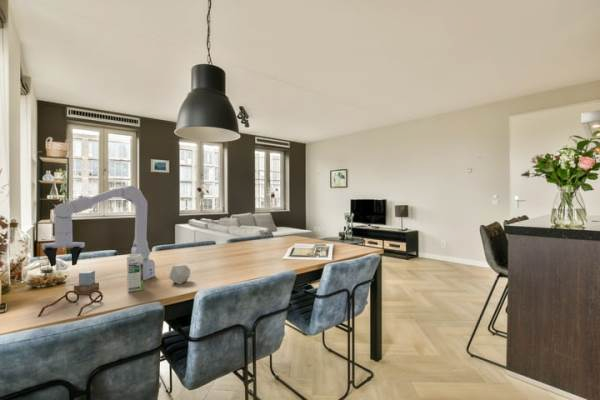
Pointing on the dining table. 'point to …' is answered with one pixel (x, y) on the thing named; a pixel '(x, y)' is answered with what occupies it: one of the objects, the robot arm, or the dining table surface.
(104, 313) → the dining table surface
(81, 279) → the slate cube
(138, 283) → the syrup box
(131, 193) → the robot arm
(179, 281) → the die
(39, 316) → the glasses
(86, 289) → the walnut slab
